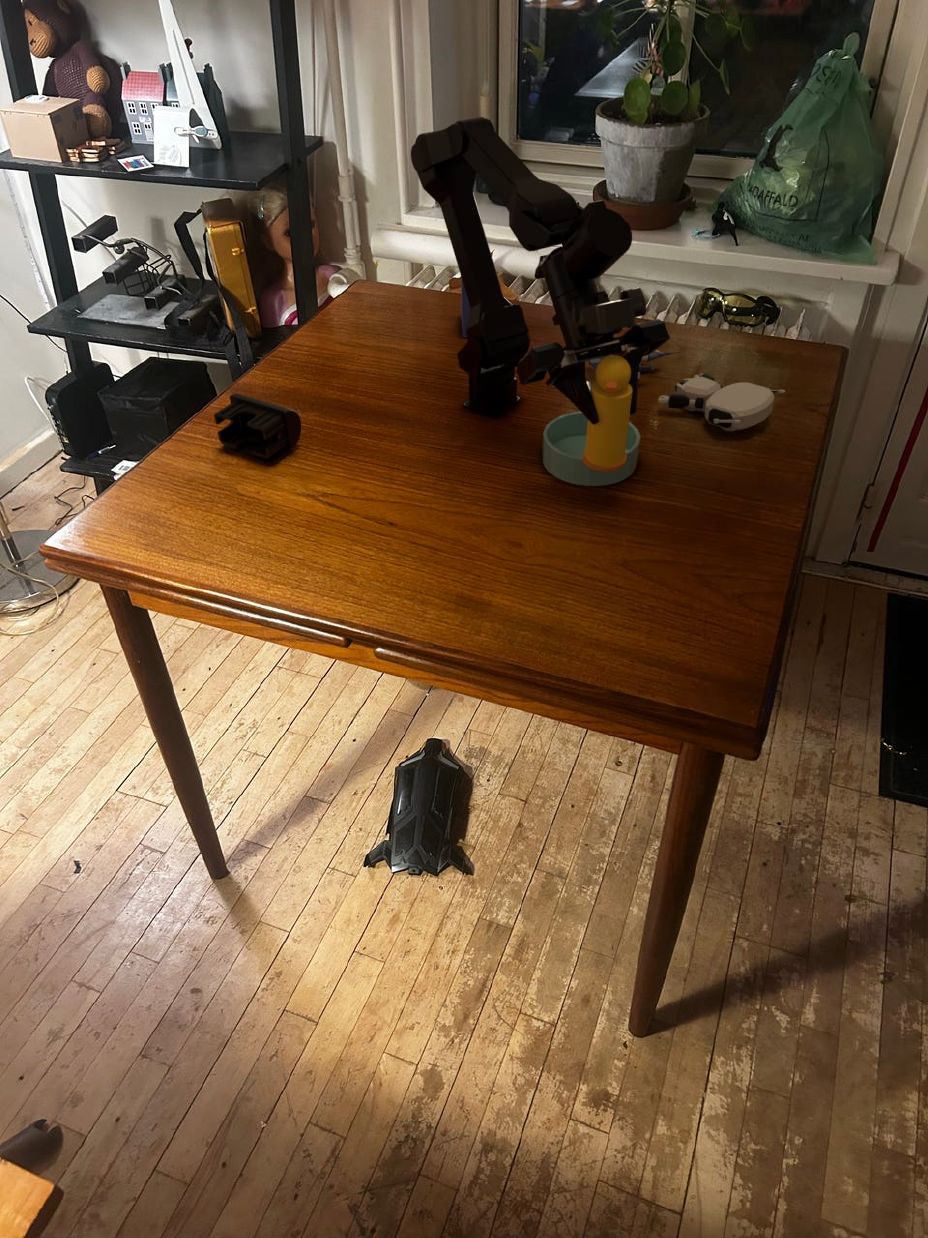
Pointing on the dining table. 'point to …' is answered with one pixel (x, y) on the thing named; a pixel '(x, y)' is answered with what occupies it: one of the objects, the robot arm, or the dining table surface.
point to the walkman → (464, 308)
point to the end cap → (258, 429)
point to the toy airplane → (642, 369)
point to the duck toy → (609, 415)
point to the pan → (568, 445)
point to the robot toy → (723, 401)
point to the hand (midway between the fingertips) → (614, 418)
